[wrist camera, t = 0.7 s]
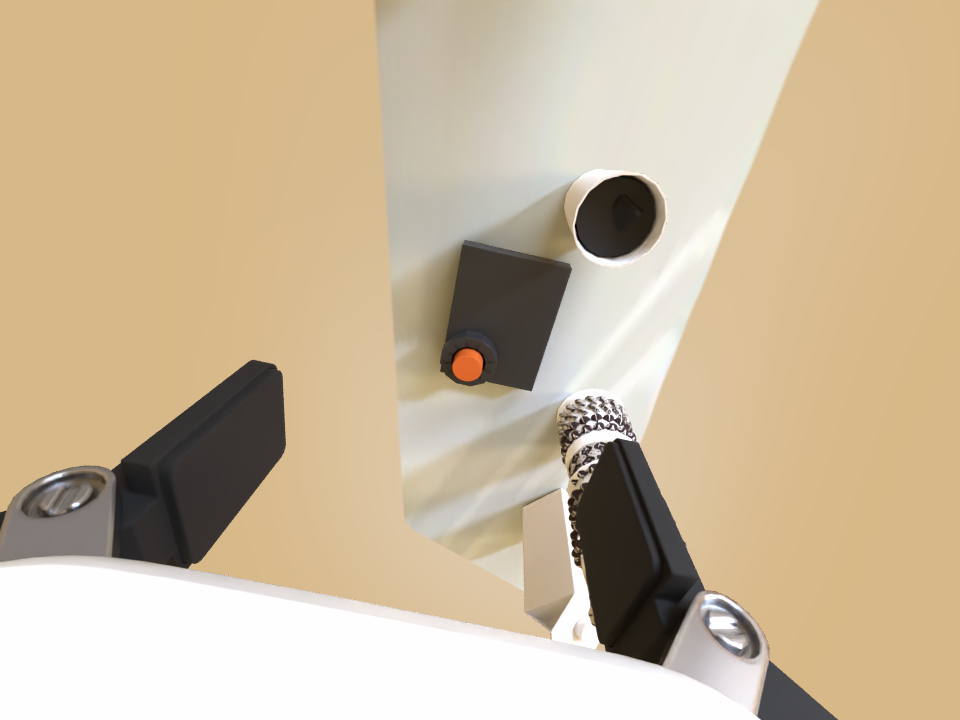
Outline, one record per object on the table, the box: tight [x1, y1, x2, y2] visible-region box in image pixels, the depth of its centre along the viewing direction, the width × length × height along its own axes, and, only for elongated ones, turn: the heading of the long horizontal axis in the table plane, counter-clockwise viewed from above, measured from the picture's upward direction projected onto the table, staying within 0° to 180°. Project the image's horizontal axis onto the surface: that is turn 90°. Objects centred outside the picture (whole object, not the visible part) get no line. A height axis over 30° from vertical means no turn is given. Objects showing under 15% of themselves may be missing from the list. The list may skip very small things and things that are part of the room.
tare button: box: [452, 348, 483, 381], centre depth 42 cm, size 3×3×2 cm
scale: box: [440, 240, 572, 391], centre depth 41 cm, size 15×11×4 cm
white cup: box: [564, 170, 668, 268], centre depth 32 cm, size 7×7×10 cm
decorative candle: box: [556, 389, 687, 627], centre depth 38 cm, size 9×9×25 cm
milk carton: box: [523, 488, 599, 649], centre depth 49 cm, size 7×7×19 cm
